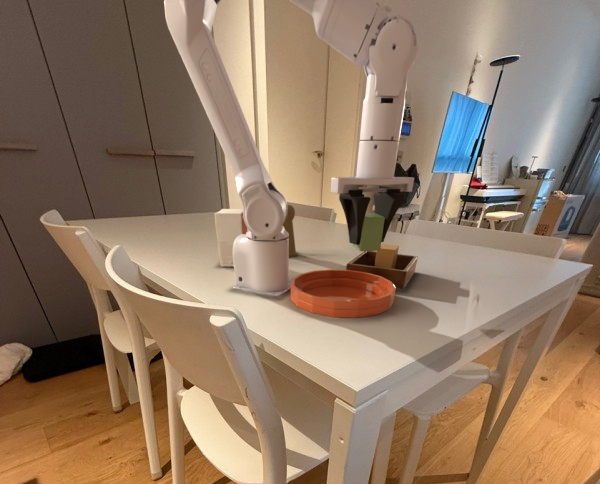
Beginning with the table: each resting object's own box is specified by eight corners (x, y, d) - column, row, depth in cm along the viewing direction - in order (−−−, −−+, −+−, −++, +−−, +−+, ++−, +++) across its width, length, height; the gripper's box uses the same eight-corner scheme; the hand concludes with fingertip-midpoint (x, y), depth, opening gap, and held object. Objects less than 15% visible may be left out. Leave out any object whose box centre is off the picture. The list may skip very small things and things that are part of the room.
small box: (245, 267, 74) (241, 213, 68) (219, 267, 74) (213, 212, 68) (250, 258, 80) (246, 208, 74) (226, 258, 80) (221, 208, 74)
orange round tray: (273, 308, 54) (272, 290, 52) (313, 280, 67) (314, 265, 65) (377, 328, 49) (381, 308, 47) (400, 294, 61) (403, 277, 60)
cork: (293, 257, 82) (293, 206, 76) (269, 256, 83) (267, 205, 76) (298, 252, 87) (299, 203, 80) (275, 250, 88) (274, 202, 81)
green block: (359, 251, 55) (363, 217, 52) (352, 245, 59) (355, 213, 56) (380, 250, 56) (385, 217, 53) (371, 245, 59) (375, 213, 56)
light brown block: (373, 273, 70) (377, 247, 67) (378, 268, 73) (382, 243, 70) (390, 276, 69) (394, 249, 66) (394, 270, 72) (399, 245, 69)
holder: (344, 282, 66) (346, 263, 64) (363, 267, 76) (365, 250, 74) (402, 291, 63) (406, 271, 60) (414, 273, 72) (418, 256, 70)
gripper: (398, 143, 55) (385, 235, 63) (322, 140, 49) (318, 241, 57) (430, 142, 50) (411, 242, 58) (349, 138, 44) (340, 249, 52)
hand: (366, 242), depth 57 cm, fingers closed on green block, 4 cm apart
